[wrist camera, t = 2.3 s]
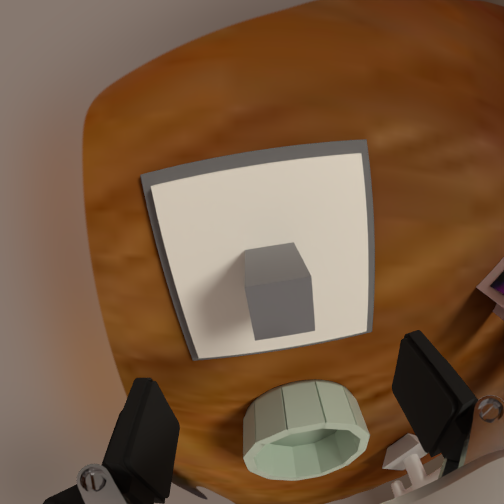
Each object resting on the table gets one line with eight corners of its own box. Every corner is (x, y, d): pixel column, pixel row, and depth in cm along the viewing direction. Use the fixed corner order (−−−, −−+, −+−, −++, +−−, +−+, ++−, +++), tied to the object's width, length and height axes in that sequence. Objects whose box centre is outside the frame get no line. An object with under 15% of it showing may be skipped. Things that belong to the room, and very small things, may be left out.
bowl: (357, 368, 26) (376, 408, 21) (349, 432, 30) (360, 466, 25) (234, 389, 27) (233, 434, 21) (254, 448, 31) (255, 484, 25)
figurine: (370, 455, 34) (393, 526, 19) (416, 422, 31) (451, 494, 17) (391, 458, 35) (414, 521, 21) (433, 428, 33) (465, 491, 19)
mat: (363, 139, 19) (366, 139, 19) (370, 328, 25) (372, 331, 24) (142, 174, 20) (140, 174, 19) (193, 357, 25) (192, 360, 25)
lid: (356, 153, 19) (403, 154, 12) (362, 325, 24) (392, 375, 17) (155, 184, 20) (113, 199, 13) (200, 351, 24) (188, 408, 18)
